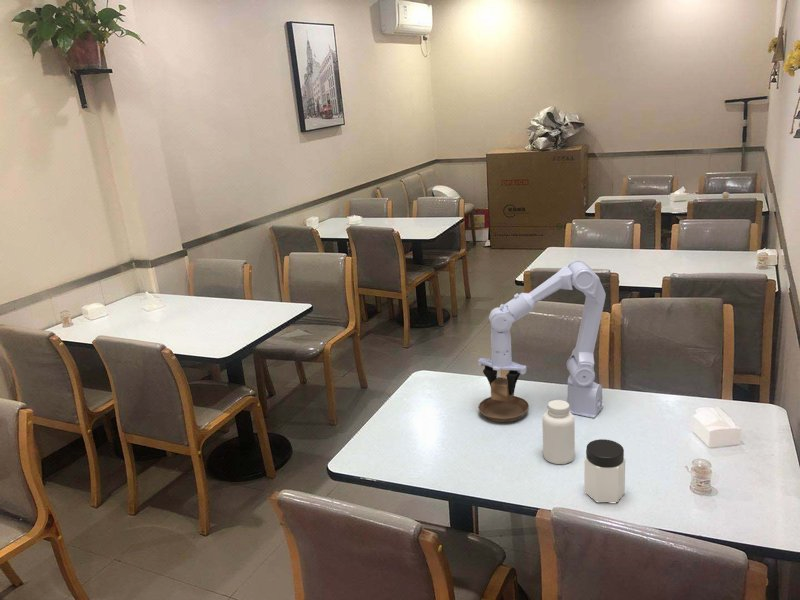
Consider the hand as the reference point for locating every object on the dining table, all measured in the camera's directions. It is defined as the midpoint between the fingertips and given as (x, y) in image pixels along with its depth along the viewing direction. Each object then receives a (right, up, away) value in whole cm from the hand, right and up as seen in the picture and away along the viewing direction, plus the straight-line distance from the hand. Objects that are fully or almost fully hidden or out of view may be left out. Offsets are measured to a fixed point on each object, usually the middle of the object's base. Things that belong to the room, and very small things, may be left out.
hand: (502, 391), depth 185 cm
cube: (0, -2, 0) cm, 2 cm away
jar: (+17, -18, -39) cm, 46 cm away
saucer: (+1, -7, +2) cm, 8 cm away
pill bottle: (+11, -14, -22) cm, 28 cm away
